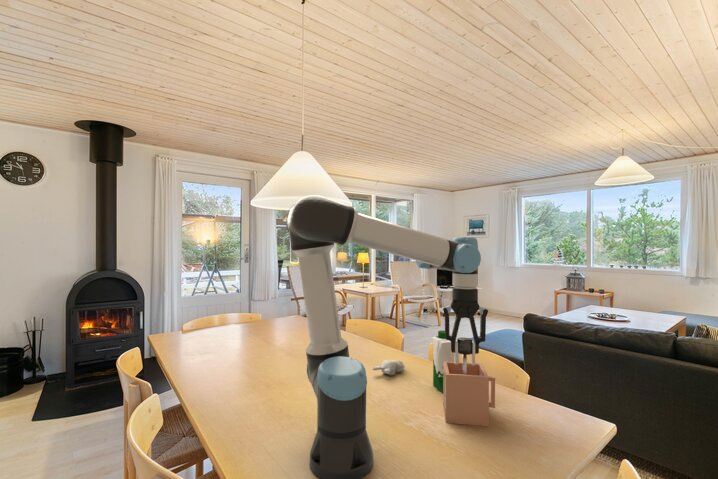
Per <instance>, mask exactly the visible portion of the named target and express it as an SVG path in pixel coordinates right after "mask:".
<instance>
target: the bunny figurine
mask: <svg viewBox="0 0 718 479" xmlns="http://www.w3.org/2000/svg"><path fill="white" fill-rule="evenodd" d="M405 367H406V366H405V363H403V362H402V361H401V360H396V359H391V360H388V359H385V360H383V361H382V362H381V366H378V365H377V366H373V368H372V371H379V370H380V371H381V373H383V374H384V375H386V374H387V375H389V376H391V377H392V376H394V375H396V374H397V373H402V372H405V369H406V368H405Z"/></svg>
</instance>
